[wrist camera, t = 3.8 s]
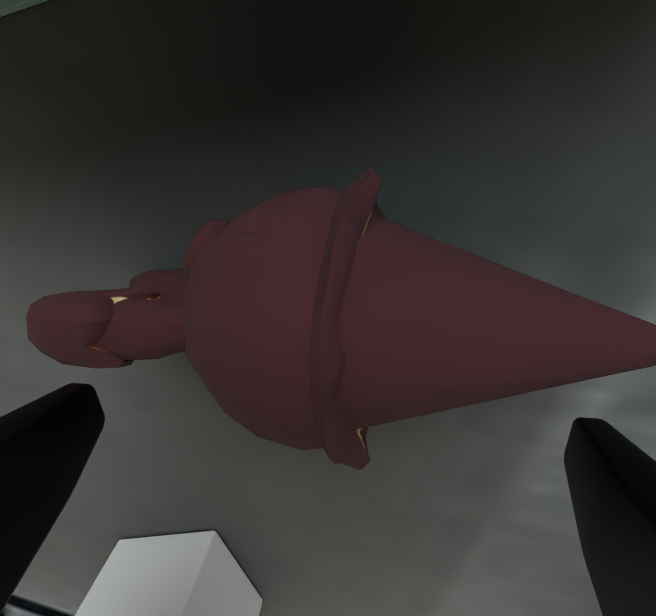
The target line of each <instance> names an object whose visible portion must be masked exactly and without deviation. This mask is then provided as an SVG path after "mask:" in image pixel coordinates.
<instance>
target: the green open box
mask: <svg viewBox="0 0 656 616" xmlns="http://www.w3.org/2000/svg"><path fill="white" fill-rule="evenodd" d="M45 1H48V0H0V17H2V16H5V15H7V14H10V13H13V12H16V11H19V10H22V9H25V8H28V7H31V6H34V5H37V4H40V3H42V2H45Z"/></svg>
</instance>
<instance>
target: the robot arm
mask: <svg viewBox="0 0 656 616" xmlns="http://www.w3.org/2000/svg"><path fill="white" fill-rule="evenodd" d="M104 422H105V415H104V412H103V409H102V407H101V404H100V401H99V399H98V396H97V393H96V390H95V389H94V387H93V386H92V385H89V384H80V383H71V384H68V385H65V386H63V387H61V388H59V389H57V390H55V391H53V392H51V393H49V394H47V395H45V396H43V397H41V398H39V399H37V400H35V401H32V402H30V403H28V404H26V405H24V406H22V407H20V408H18V409H16V410H14V411H12V412H10V413H8V414H6V415H4V416H2V417H0V614H1V612H2V610H3V609H4V607H5V605H6V604H7V602H8V600H9V599H10V597H11V595H12V594H13V592H14V590H15V589H16V587H17V585H18V584H19V582H20V580H21V579H22V577H23V575H24V574H25V572H26V570H27V568H28V567H29V565H30V563H31V562H32V560H33V558H34V557H35V555H36V553H37V552H38V550H39V548H40V547H41V545H42V543H43V542H44V540H45V538H46V537H47V535H48V533H49V532H50V530H51V528H52V527H53V525H54V523H55V522H56V520H57V518H58V517H59V515H60V513H61V512H62V510H63V508H64V506H65V505H66V503H67V501H68V499H69V498H70V496H71V494H72V492H73V490H74V488H75V486H76V484H77V482H78V480H79V477H80V475H81V473H82V471H83V469H84V467H85V465H86V463H87V461H88V459H89V456H90V454H91V452H92V450H93V448H94V446H95V444H96V442H97V440H98V438H99V435H100V433H101V431H102V429H103V427H104ZM564 464H565V470H566V475H567V479H568V484H569V489H570V494H571V499H572V504H573V509H574V514H575V518H576V523H577V528H578V533H579V538H580V542H581V547H582V551H583V555H584V558H585V562H586V565H587V568H588V571H589V574H590V578H591V581H592V584H593V587H594V590H595V593H596V596H597V599H598V602H599V605H600V608H601V611H602V614H603V616H656V461H655V460H653V459H652V458H651V457H650V456H648V455H647V454H646V453H645V452H643V451H642V450H641V449H640V448H638V447H637V446H636V445H635V444H633V443H632V442H631V441H630V440H628V439H627V438H626V437H625V436H623V435H622V434H621V433H620V432H618V431H617V430H616V429H615V428H613V427H612V426H611V425H610V424H608V423H607V422H606V421H604V420H602V419H597V418H582V417H579V418H577V419H575V420H574V422H573V424H572V428H571V431H570V435H569V438H568V442H567V445H566V449H565V453H564Z"/></svg>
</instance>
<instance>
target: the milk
mask: <svg viewBox="0 0 656 616" xmlns="http://www.w3.org/2000/svg"><path fill="white" fill-rule="evenodd" d="M261 606H262V598H261V597H260V595H259V594H258V592H257V591H256V589H255V588H254V586H253V585H252V583H251V582H250V581H249V579H248V578H247V576H246V575H245V573H244V572H243V570H242V569H241V567H240V566H239V564H238V563H237V562H236V560H235V559H234V557H233V556H232V554H231V553H230V551H229V550H228V548H227V547H226V545H225V544H224V543H223V541H222V540H221V538H220V537H219V535H218V534H217V532H216V531H204V532H194V533H184V534H173V535H163V536H152V537H142V538H132V539H122V540H119V541H118V543H117V544H116V546H115V548H114V549H113V551H112V553H111V554H110V556H109V558H108V560H107V561H106V563H105V565H104V566H103V568H102V570H101V572H100V573H99V575H98V577H97V578H96V580H95V582H94V583H93V585H92V587H91V589H90V590H89V592H88V594H87V595H86V597H85V599H84V601H83V602H82V604H81V606H80V607H79V609H78V611H77V612H76V614H75V616H259V613H260V610H261Z"/></svg>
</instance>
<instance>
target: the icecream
mask: <svg viewBox="0 0 656 616" xmlns="http://www.w3.org/2000/svg"><path fill="white" fill-rule="evenodd" d="M381 183H382V179H381V178H380V177H379V175H378V174H377V173H376V171H375V170H374V169H373V168H371V167H370V168H369V169H368V170H367V171H365V172H364V173H363V174H362V175H361V176H360V177H359V178H358V179H357V180H356V181H355V182H354V183H353V184H352V185H351V186H349V187H348V188H347V189H346V190H345V191H343V190H340V189H336V188H333V187H329V186H319V187H312V188H304V189H297V190H289V191H282V192H279V193H277V194H275V195H273V196H271V197H269V198H267V199H265V200H263V201H261V202H259V203H257V204H255V205H253V206H251V207H249V208H247V209H245V210H244V211H243V212H242V213H241V214H240V215H239V216H237V217H236V218H235V219H234V220H233V221H232V222H231V223H229V222H228V220H206V221H205V222H204V224H203V225H202V227H201V228H200V230H199V231H198V233H197V234H196V235H195V237H194V238H193V240H192V242H191V243H190V245H189V246H188V248H187V250H186V252H185V254H184V260H183V266H182V269H178V270H150V271H147V272H144V273H141V274H139V275H137V276H135V277H133V278H132V279H131V281H130V282H129V284H130V287H129V288H124V289H116V290H96V291H74V292H68V293H61V294H55V295H48V296H44V297H42V298H40V299H39V300H37V301H35V302H34V303H32V304H31V305H30V307H29V310H28V313H27V316H26V321H27V330H28V339H29V340H30V341H31V342H32V343H33V344H34V345H35V346H36V347H37V348H38V349H39V350H40V351H41V352H42V353H43V354H45V355H47V356H49V357H51V358H52V359H54V360H56V361H58V362H60V363H61V364H67V365H74V366H82V367H90V368H119V367H123V366H128V365H131V364H132V362H133V361H134V360H146V359H159V358H162V357H165V356H168V355H172V354H175V353H178V352H181V351H184V350H185V352H186V356H187V357H188V359H189V361H190V363H191V365H192V367H193V368H194V370H195V371H196V373H197V374H198V376H199V377H200V379H201V380H202V382H203V383H204V384H205V386H206V387H207V389H208V390H209V391H210V393H211V394H212V395H213V397H214V398H215V400H216V401H217V402H218V404H219V405H220V406H221V408H222V409H223V411H224V412H225V413H227V414H228V415H229V416H231V417H232V418H233V419H235V420H236V421H237V422H239V423H240V424H241V425H243V426H244V427H245V428H247V429H248V430H249V431H251V432H252V433H253V434H255V435H256V436H257V437H261V438H264V439H267V440H271V441H274V442H277V443H281V444H284V445H287V446H291V447H294V448H297V449H301V450H308V449H319V448H324V449H325V451H326V453H327V455H328V457H329V459H330V460H332V461H333V462H334V463H335V464H336V463H342V464H344V465H347V466H350V467H353V468H355V469H363V468H364V466H365V465H366V464H367V463H368V462H369V461H370V458H369V455H368V449H367V442H366V433H367V430H368V427H369V426H374V425H378V424H383V423H388V422H392V421H397V420H402V419H406V418H411V417H416V416H420V415H425V414H430V413H434V412H439V411H444V410H448V409H453V408H458V407H462V406H467V405H472V404H476V403H481V402H486V401H490V400H495V399H500V398H504V397H509V396H514V395H518V394H523V393H528V392H532V391H537V390H542V389H546V388H551V387H556V386H560V385H565V384H570V383H574V382H579V381H584V380H589V379H593V378H598V377H603V376H608V375H613V374H617V373H622V372H627V371H632V370H637V369H641V368H646V367H650V366H654V365H656V325H654V324H652V323H649V322H647V321H644V320H641V319H639V318H636V317H634V316H631V315H628V314H626V313H623V312H620V311H618V310H615V309H612V308H610V307H607V306H604V305H602V304H599V303H597V302H594V301H591V300H589V299H586V298H583V297H581V296H578V295H576V294H573V293H570V292H568V291H565V290H563V289H560V288H558V287H555V286H553V285H550V284H548V283H545V282H542V281H540V280H537V279H535V278H532V277H530V276H527V275H525V274H522V273H520V272H517V271H514V270H512V269H509V268H507V267H504V266H502V265H499V264H497V263H494V262H492V261H489V260H486V259H484V258H481V257H479V256H476V255H474V254H471V253H469V252H466V251H464V250H461V249H458V248H456V247H453V246H451V245H448V244H446V243H443V242H441V241H438V240H436V239H433V238H430V237H428V236H425V235H423V234H420V233H418V232H415V231H413V230H410V229H408V228H405V227H402V226H400V225H397V224H395V223H392V222H390V221H387V220H385V216H384V214H383V213H382V212H381V210H380V209H379V207H378V206H377V194H378V192H379V189H380V186H381Z"/></svg>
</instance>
